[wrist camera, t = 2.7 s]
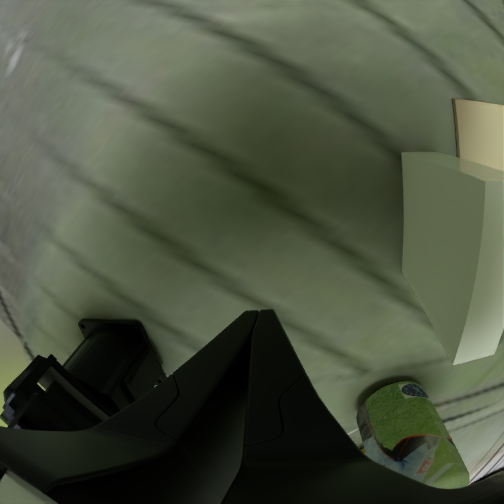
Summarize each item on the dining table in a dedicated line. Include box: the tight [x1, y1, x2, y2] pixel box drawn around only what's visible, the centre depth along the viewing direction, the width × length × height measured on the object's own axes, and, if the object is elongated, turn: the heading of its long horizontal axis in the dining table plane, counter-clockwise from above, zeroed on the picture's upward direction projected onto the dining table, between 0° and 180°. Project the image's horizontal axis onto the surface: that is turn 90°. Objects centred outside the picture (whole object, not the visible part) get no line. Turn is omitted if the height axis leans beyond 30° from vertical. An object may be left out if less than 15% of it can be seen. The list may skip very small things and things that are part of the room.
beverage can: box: [357, 381, 469, 489], centre depth 15 cm, size 6×7×12 cm
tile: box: [401, 152, 504, 365], centre depth 11 cm, size 2×7×8 cm, turn 9°
